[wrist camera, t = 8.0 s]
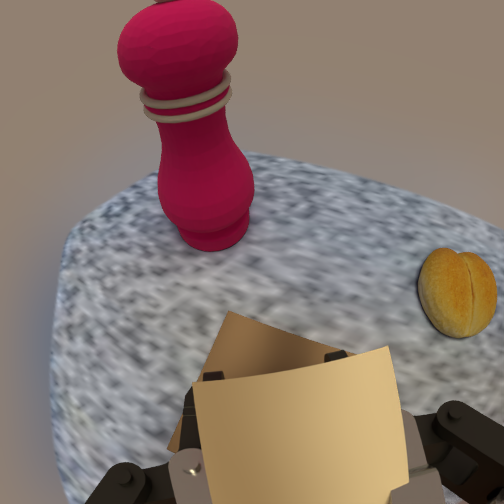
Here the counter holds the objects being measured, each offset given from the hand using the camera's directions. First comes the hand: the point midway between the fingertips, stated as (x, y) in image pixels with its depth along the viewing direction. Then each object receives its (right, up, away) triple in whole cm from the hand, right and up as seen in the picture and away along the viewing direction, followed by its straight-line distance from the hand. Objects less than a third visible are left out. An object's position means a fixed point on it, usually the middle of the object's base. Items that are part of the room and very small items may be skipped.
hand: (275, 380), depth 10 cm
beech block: (0, -4, +3) cm, 5 cm away
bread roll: (+18, +1, +11) cm, 21 cm away
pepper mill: (-4, +8, +14) cm, 17 cm away
